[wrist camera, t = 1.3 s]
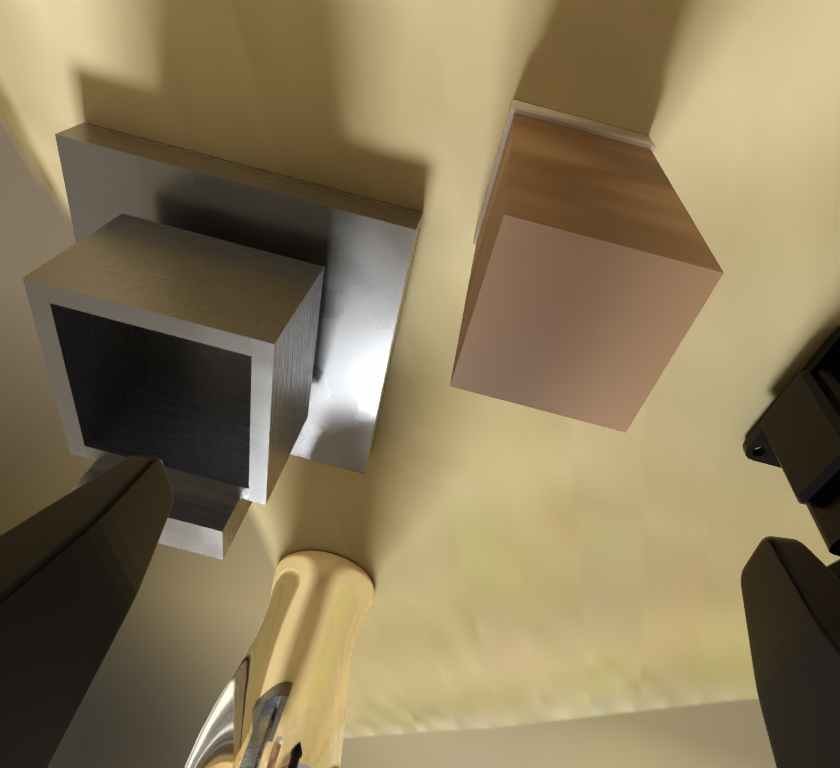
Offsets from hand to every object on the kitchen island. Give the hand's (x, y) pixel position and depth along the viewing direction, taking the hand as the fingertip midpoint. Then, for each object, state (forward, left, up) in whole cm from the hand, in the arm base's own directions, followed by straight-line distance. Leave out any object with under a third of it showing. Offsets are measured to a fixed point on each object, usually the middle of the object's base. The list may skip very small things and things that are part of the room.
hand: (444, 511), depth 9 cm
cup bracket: (+8, +7, -13) cm, 17 cm away
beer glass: (+3, +25, -13) cm, 29 cm away
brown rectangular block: (-2, -1, -13) cm, 13 cm away
